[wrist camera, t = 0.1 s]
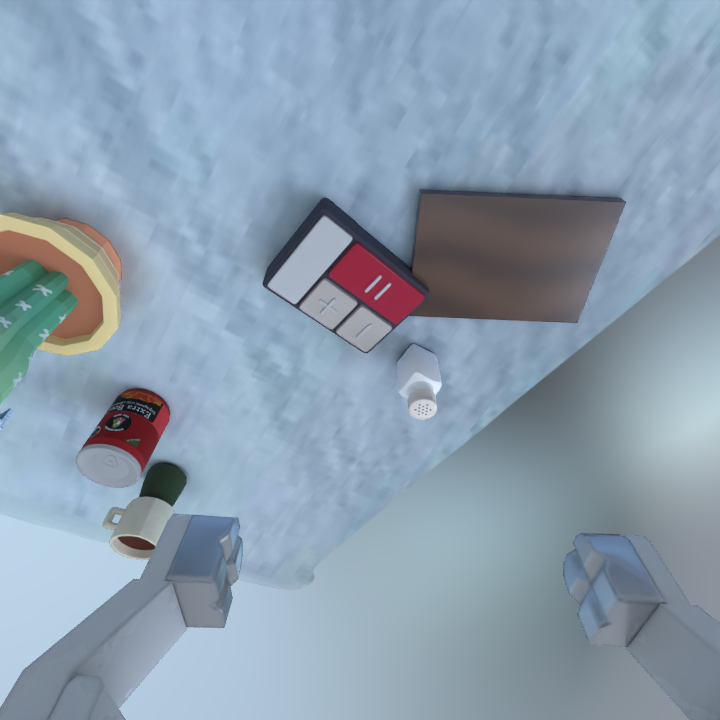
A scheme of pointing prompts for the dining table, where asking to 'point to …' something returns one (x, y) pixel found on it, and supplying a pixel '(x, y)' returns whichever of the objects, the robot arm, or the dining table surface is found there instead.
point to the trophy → (146, 513)
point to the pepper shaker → (419, 381)
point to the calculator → (344, 278)
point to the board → (510, 253)
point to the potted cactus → (53, 292)
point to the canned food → (124, 439)
